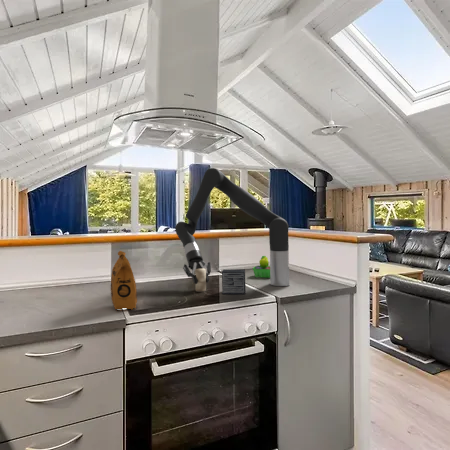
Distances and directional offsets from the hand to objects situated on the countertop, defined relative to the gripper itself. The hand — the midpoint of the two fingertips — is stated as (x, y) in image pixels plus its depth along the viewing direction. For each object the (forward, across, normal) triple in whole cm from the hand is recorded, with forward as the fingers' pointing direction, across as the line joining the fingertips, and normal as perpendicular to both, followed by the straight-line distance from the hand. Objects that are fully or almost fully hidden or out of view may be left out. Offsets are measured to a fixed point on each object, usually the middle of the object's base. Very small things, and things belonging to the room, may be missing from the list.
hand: (202, 282), depth 150 cm
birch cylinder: (+2, 0, +4) cm, 5 cm away
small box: (+10, +12, -4) cm, 16 cm away
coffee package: (+8, -36, -2) cm, 37 cm away
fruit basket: (-6, +42, +12) cm, 45 cm away
